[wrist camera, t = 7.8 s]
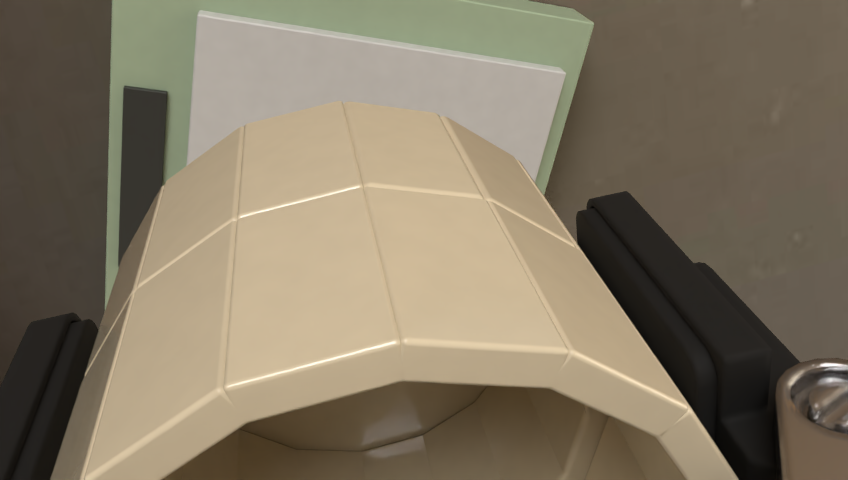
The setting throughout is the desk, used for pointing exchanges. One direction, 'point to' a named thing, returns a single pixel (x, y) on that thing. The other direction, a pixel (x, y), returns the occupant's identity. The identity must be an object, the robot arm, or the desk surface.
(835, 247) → the desk surface
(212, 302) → the beige cup
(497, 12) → the scale
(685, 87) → the desk surface
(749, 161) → the desk surface
